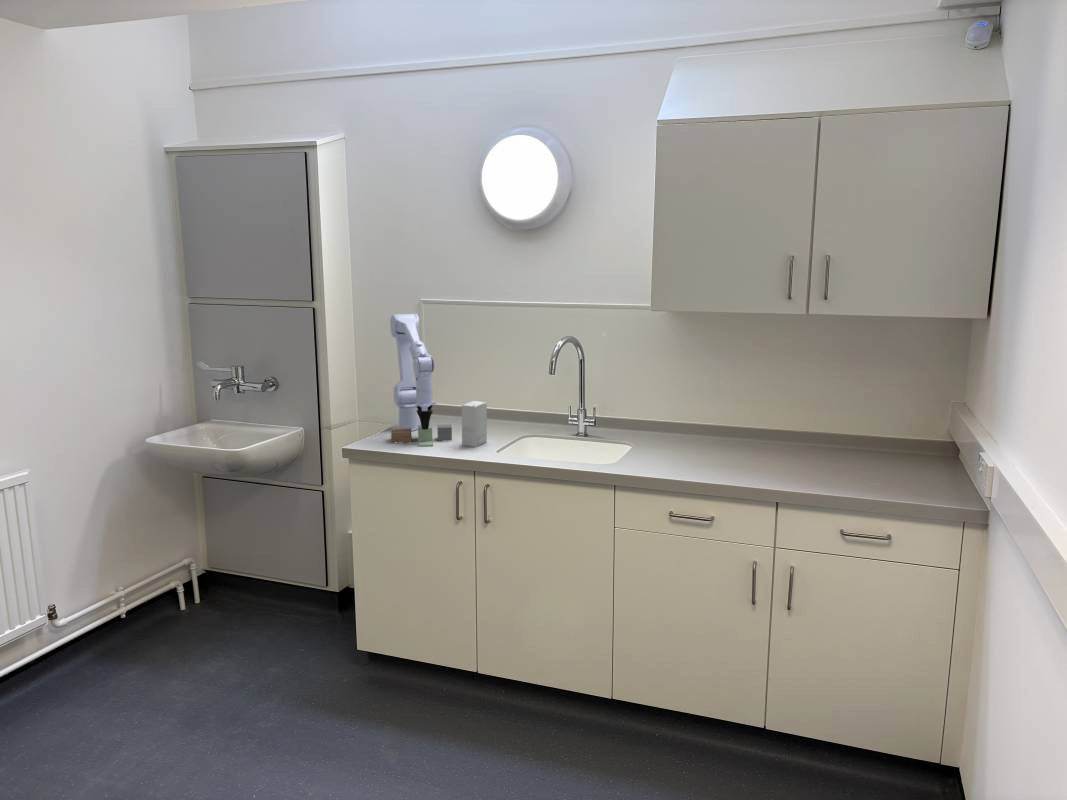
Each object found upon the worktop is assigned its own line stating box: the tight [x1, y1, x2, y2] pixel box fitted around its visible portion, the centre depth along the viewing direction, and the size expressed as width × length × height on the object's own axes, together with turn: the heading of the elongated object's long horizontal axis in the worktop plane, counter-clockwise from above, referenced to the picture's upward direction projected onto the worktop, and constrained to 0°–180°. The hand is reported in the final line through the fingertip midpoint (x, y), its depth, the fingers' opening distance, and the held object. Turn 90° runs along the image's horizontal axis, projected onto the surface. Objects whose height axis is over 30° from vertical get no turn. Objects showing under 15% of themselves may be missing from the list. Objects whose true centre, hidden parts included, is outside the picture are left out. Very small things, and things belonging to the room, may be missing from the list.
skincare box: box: [461, 400, 488, 448], centre depth 275 cm, size 8×6×15 cm
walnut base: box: [390, 428, 413, 444], centre depth 281 cm, size 7×7×4 cm
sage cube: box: [417, 424, 433, 442], centre depth 282 cm, size 5×5×5 cm
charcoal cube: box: [436, 423, 453, 442], centre depth 283 cm, size 5×5×5 cm
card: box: [418, 440, 434, 447], centre depth 275 cm, size 5×5×1 cm
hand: (425, 427), depth 281 cm, fingers open, 7 cm apart
